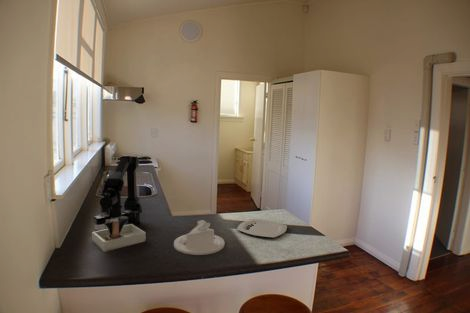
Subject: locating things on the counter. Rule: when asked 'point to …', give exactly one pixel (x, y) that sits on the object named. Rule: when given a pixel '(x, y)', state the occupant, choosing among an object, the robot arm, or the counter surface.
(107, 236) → the socket
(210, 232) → the dish
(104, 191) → the robot arm
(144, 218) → the counter surface
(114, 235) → the peg
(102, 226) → the syrup box
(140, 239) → the tray
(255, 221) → the plate
